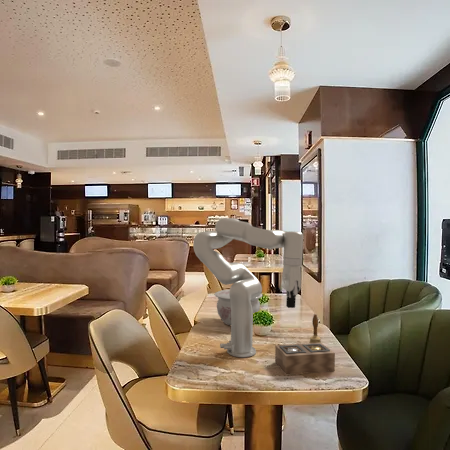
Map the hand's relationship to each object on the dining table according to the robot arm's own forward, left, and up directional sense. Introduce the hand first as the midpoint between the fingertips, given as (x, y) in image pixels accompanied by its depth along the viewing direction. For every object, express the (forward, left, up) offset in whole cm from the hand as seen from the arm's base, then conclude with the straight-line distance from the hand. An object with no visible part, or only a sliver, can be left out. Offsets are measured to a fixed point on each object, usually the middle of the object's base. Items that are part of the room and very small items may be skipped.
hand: (290, 307), depth 142 cm
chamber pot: (-7, +60, -23) cm, 65 cm away
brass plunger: (+10, -3, -23) cm, 25 cm away
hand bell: (+18, +14, -23) cm, 33 cm away
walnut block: (+5, -3, -23) cm, 24 cm away
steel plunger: (0, -3, -23) cm, 23 cm away
